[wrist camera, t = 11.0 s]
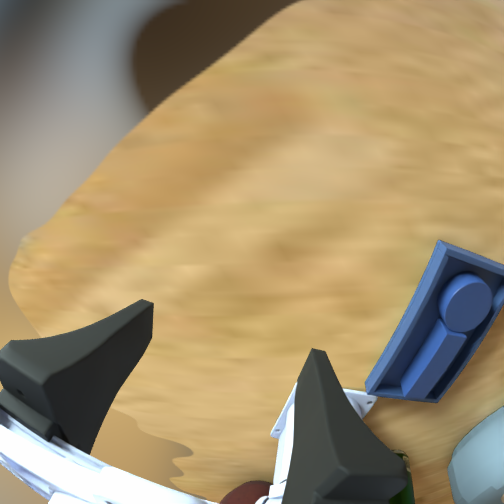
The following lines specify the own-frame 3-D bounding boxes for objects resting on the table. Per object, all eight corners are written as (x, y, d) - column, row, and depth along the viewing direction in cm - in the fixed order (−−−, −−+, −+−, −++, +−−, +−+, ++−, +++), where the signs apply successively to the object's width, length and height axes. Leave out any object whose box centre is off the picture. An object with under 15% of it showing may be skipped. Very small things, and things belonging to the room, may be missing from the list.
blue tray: (433, 391, 24) (437, 403, 23) (364, 382, 25) (366, 394, 23) (508, 266, 19) (518, 275, 17) (438, 239, 19) (446, 248, 18)
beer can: (393, 444, 28) (403, 531, 17) (415, 454, 29) (426, 533, 18) (358, 462, 30) (359, 545, 19) (381, 471, 31) (386, 546, 20)
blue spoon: (427, 383, 24) (433, 400, 22) (388, 378, 24) (393, 396, 22) (491, 278, 19) (503, 291, 17) (451, 264, 19) (464, 278, 17)
